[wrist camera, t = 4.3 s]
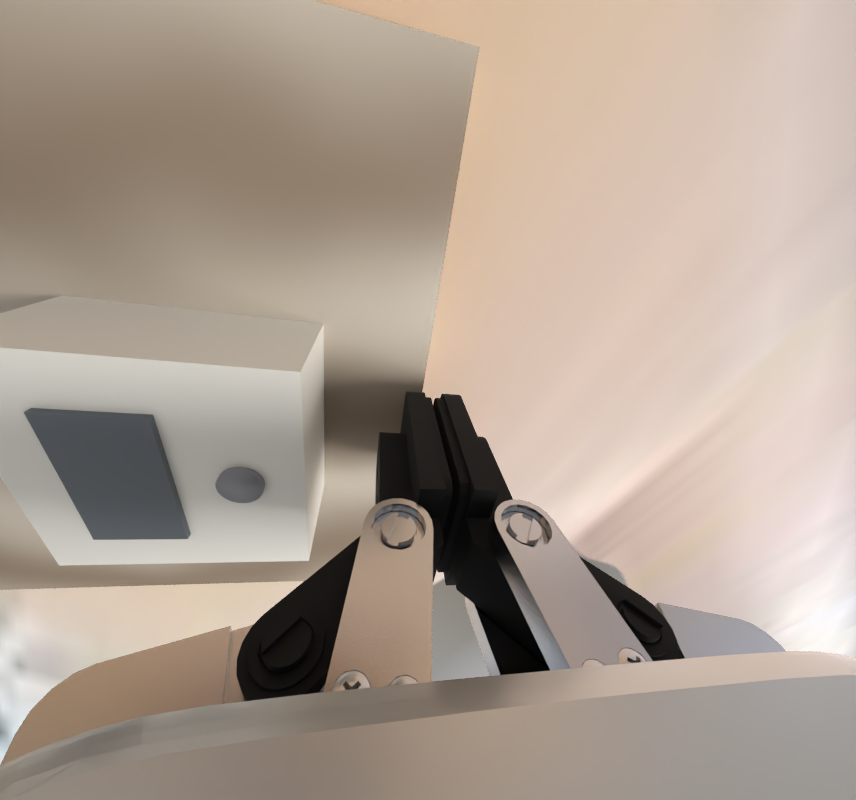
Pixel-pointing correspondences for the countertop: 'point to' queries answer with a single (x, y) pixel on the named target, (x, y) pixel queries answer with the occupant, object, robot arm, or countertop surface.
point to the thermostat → (162, 431)
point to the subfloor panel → (235, 206)
